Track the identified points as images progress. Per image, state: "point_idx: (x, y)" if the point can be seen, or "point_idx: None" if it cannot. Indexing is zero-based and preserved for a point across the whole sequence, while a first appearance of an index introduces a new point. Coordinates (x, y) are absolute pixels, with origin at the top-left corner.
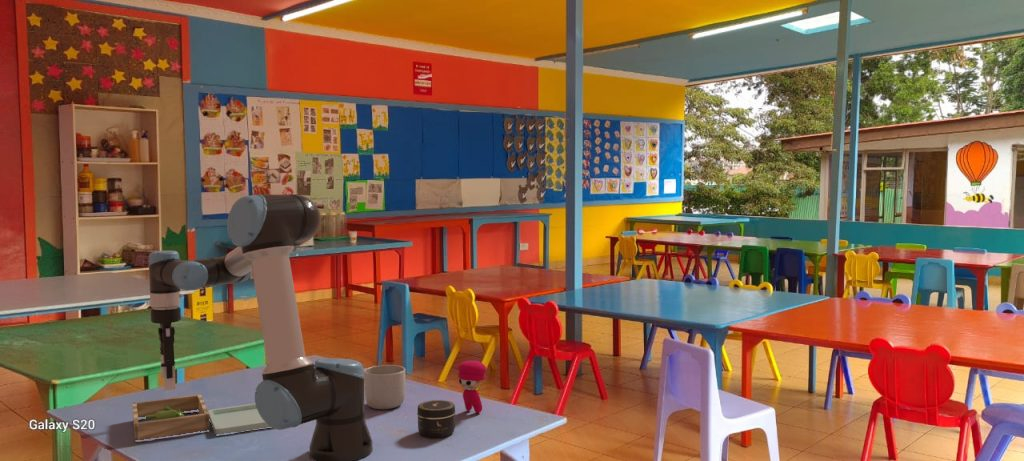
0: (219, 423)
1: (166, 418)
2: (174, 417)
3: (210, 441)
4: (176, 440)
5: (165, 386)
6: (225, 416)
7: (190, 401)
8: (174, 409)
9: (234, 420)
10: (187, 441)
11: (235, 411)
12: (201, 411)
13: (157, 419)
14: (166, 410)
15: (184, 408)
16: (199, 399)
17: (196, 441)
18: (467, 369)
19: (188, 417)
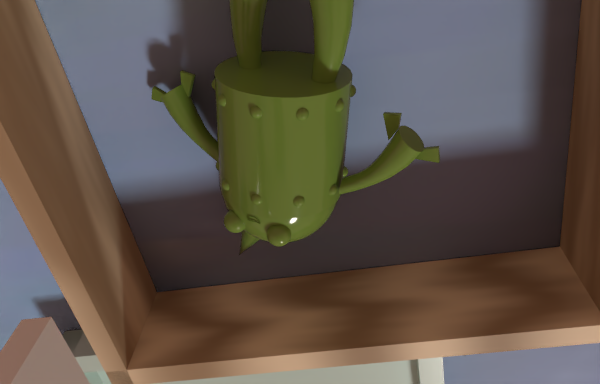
0: None
1: (218, 149)
2: (225, 196)
3: (2, 314)
4: None
5: (5, 366)
6: (345, 369)
7: (596, 261)
8: (588, 145)
9: None
10: (9, 229)
11: None
12: (339, 316)
13: (215, 90)
14: (391, 140)
15: (580, 201)
16: (484, 337)
17: (6, 264)
18: None
19: (71, 300)
